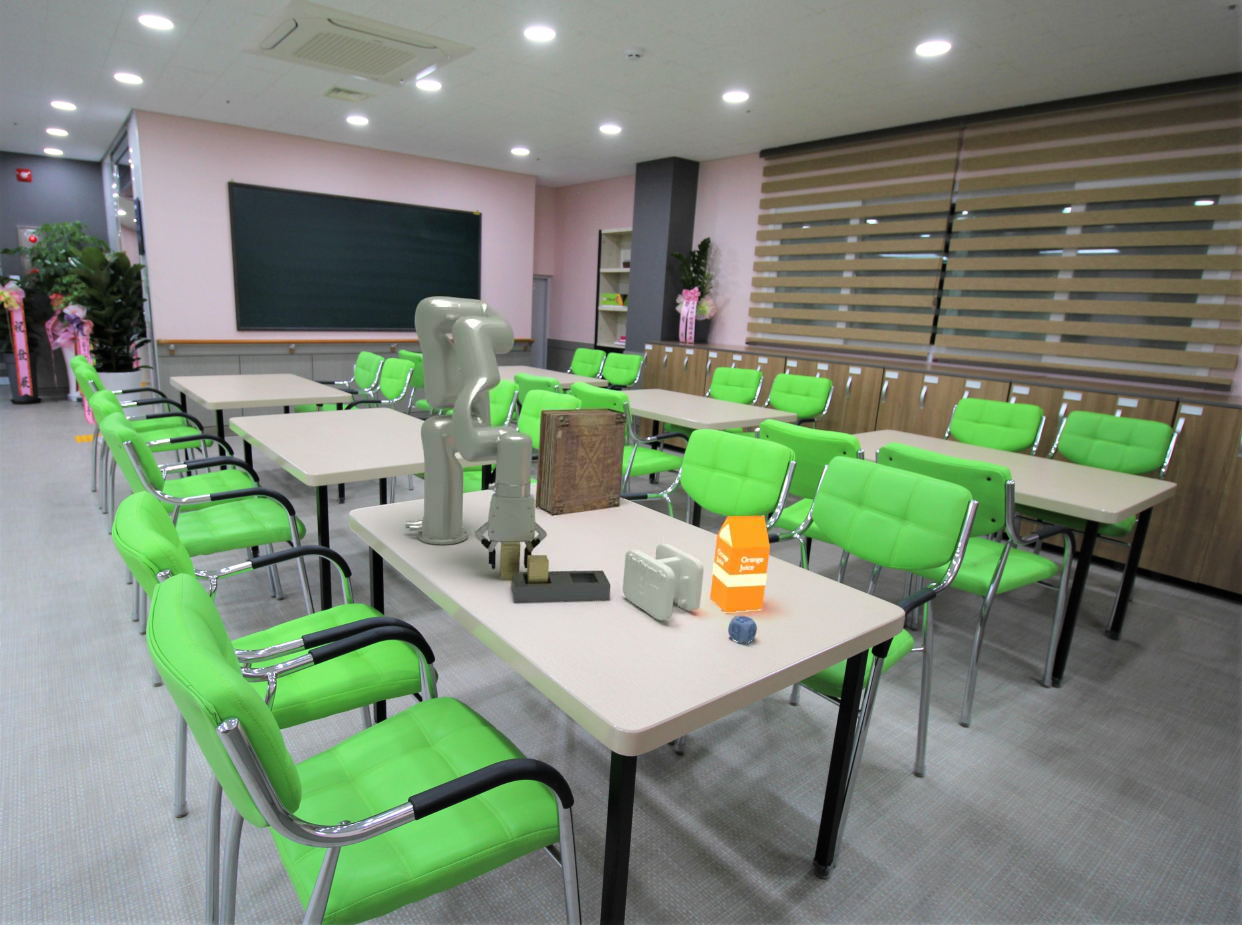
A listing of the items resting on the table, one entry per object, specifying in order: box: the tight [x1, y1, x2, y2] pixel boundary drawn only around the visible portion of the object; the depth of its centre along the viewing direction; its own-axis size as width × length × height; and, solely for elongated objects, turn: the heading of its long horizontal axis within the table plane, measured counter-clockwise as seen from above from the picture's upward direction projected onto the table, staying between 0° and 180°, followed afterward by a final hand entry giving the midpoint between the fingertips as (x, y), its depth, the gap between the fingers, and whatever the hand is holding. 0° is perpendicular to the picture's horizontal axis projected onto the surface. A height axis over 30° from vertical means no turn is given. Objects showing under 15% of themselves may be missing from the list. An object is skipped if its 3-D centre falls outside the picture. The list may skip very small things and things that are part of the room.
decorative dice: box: [727, 615, 758, 644], centre depth 129 cm, size 4×4×4 cm
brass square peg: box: [499, 542, 521, 581], centre depth 150 cm, size 4×4×8 cm
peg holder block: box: [510, 554, 611, 604], centre depth 143 cm, size 20×8×8 cm, turn 103°
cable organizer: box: [622, 543, 705, 621], centre depth 140 cm, size 15×11×12 cm
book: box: [535, 408, 628, 517], centre depth 206 cm, size 25×9×30 cm, turn 128°
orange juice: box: [709, 515, 771, 612], centre depth 143 cm, size 8×9×20 cm
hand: (509, 565), depth 150 cm, fingers open, 6 cm apart
